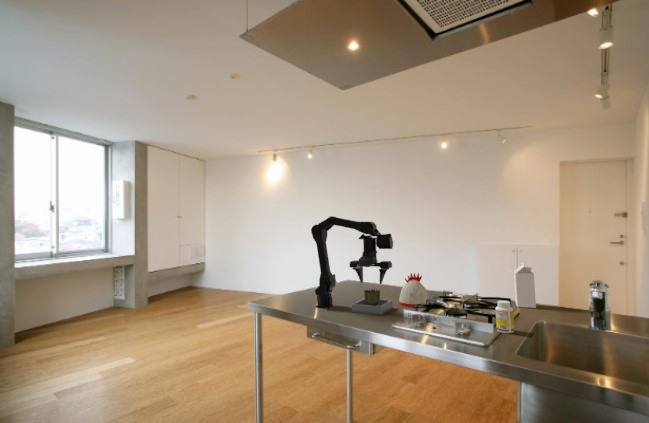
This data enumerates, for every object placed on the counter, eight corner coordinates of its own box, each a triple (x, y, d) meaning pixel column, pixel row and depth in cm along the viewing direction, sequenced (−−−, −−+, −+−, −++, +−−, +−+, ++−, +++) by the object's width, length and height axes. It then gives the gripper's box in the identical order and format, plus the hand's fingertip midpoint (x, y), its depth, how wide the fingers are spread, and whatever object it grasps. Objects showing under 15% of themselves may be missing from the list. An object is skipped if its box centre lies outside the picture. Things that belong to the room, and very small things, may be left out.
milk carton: (517, 307, 154) (515, 264, 155) (515, 304, 161) (513, 262, 162) (536, 308, 151) (533, 264, 152) (533, 304, 158) (530, 262, 159)
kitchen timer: (432, 307, 160) (431, 274, 161) (402, 308, 160) (401, 275, 161) (424, 300, 174) (423, 270, 175) (397, 301, 174) (395, 271, 175)
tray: (352, 312, 156) (351, 304, 156) (364, 305, 168) (364, 298, 168) (382, 315, 149) (381, 306, 149) (392, 307, 161) (392, 300, 161)
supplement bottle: (509, 328, 124) (508, 299, 125) (517, 333, 119) (516, 303, 119) (493, 329, 125) (492, 300, 125) (501, 333, 119) (499, 303, 119)
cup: (380, 310, 154) (379, 292, 154) (363, 310, 155) (363, 292, 156) (381, 306, 161) (380, 289, 162) (365, 306, 163) (364, 288, 163)
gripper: (343, 250, 157) (344, 285, 157) (383, 250, 148) (384, 287, 148) (354, 248, 167) (355, 281, 166) (391, 248, 158) (393, 283, 157)
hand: (371, 283), depth 159 cm, fingers open, 9 cm apart
